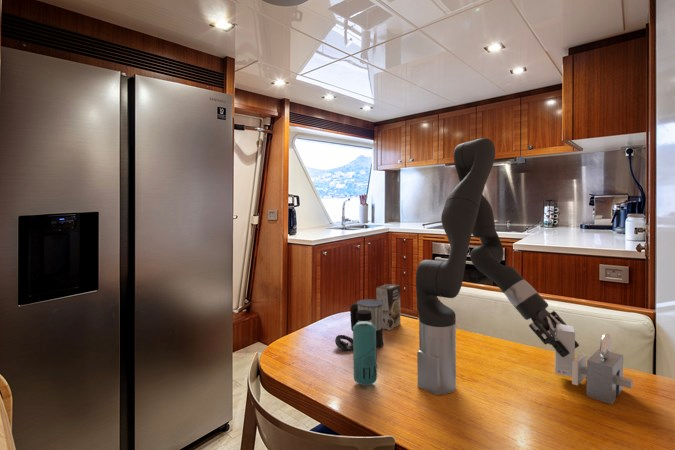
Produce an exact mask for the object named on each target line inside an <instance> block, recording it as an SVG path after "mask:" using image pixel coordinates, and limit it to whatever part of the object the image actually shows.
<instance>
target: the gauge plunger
mask: <svg viewBox="0 0 675 450" xmlns="http://www.w3.org/2000/svg"><path fill="white" fill-rule="evenodd" d="M586 376H587V354H586V353H582V352H581V353H580V354H579V355H577V356H576V357H574V360H573V361H572V377H571V384H572V385H574V386H579V385H580V384H581V383H582V382H583V381H584V380H585V378H586ZM633 380H634V379H631V378H627V377H624V376H623V377H620V376H617V375H616V385H620V386H623V388H626V389H627V388H628V389H630V390H631V389H632V388H633V384H634V382H633Z"/></svg>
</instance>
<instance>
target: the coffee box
mask: <svg viewBox="0 0 675 450" xmlns="http://www.w3.org/2000/svg"><path fill="white" fill-rule="evenodd" d="M375 296H376V299H375V300H380V301H382V302H383V303H384V304H383V330H386V329H387V331H391V330H393V329H395V328H396V327H398V326H400V325H401V285H399V284H393V283H390V284H389V283H386V284H384V285H380V286H377V287H376V293H375ZM399 324H400V325H399ZM394 327H395V328H394Z"/></svg>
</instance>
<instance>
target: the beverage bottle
mask: <svg viewBox="0 0 675 450" xmlns="http://www.w3.org/2000/svg"><path fill="white" fill-rule="evenodd" d="M356 319H357V320H359V321H361V322H358V323H356V324H355V325H354V326H353V331H352V339H353V350H352V351H353V354H352V355H353V356H352V358H353V359H352V360H353V362H352V364H353V381H354V382H355V383H357V384H359V385H363V386H365V385H366V386H369V385H372V384H375V383H376V381H377V379H378V370H377V369H378V364H377V359H378V358H377V357H378V356H377V348H376V346H377V345H376V344H377V341H376V327H375V326H374V325H373V324H372V323H371V322H367V321H369V320H371V319H372V316H371V311H369V310H359V311H357V316H356Z"/></svg>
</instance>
